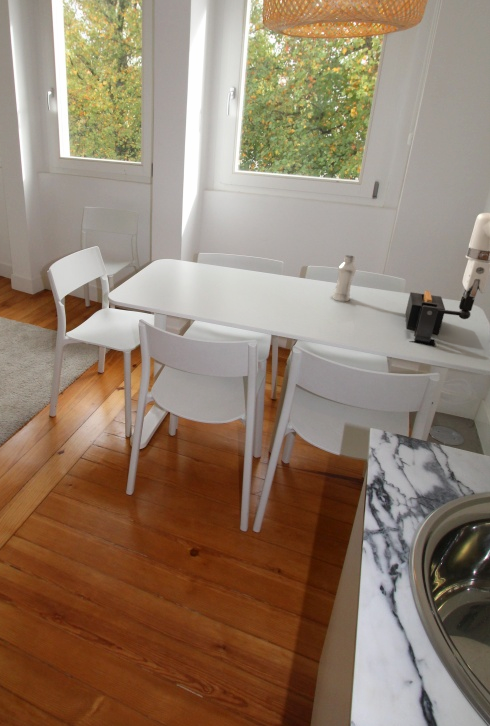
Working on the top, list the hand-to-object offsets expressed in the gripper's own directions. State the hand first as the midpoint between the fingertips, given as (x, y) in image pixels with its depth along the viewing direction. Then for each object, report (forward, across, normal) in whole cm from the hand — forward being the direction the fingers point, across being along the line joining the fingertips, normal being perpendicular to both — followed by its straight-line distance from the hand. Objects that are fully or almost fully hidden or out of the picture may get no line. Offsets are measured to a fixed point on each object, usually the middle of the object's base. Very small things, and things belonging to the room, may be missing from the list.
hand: (464, 309), depth 150 cm
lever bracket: (+14, 0, +10) cm, 17 cm away
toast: (+11, +13, +9) cm, 19 cm away
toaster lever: (+3, 0, +5) cm, 6 cm away
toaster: (+14, +13, +9) cm, 21 cm away
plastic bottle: (+15, +27, +38) cm, 48 cm away
